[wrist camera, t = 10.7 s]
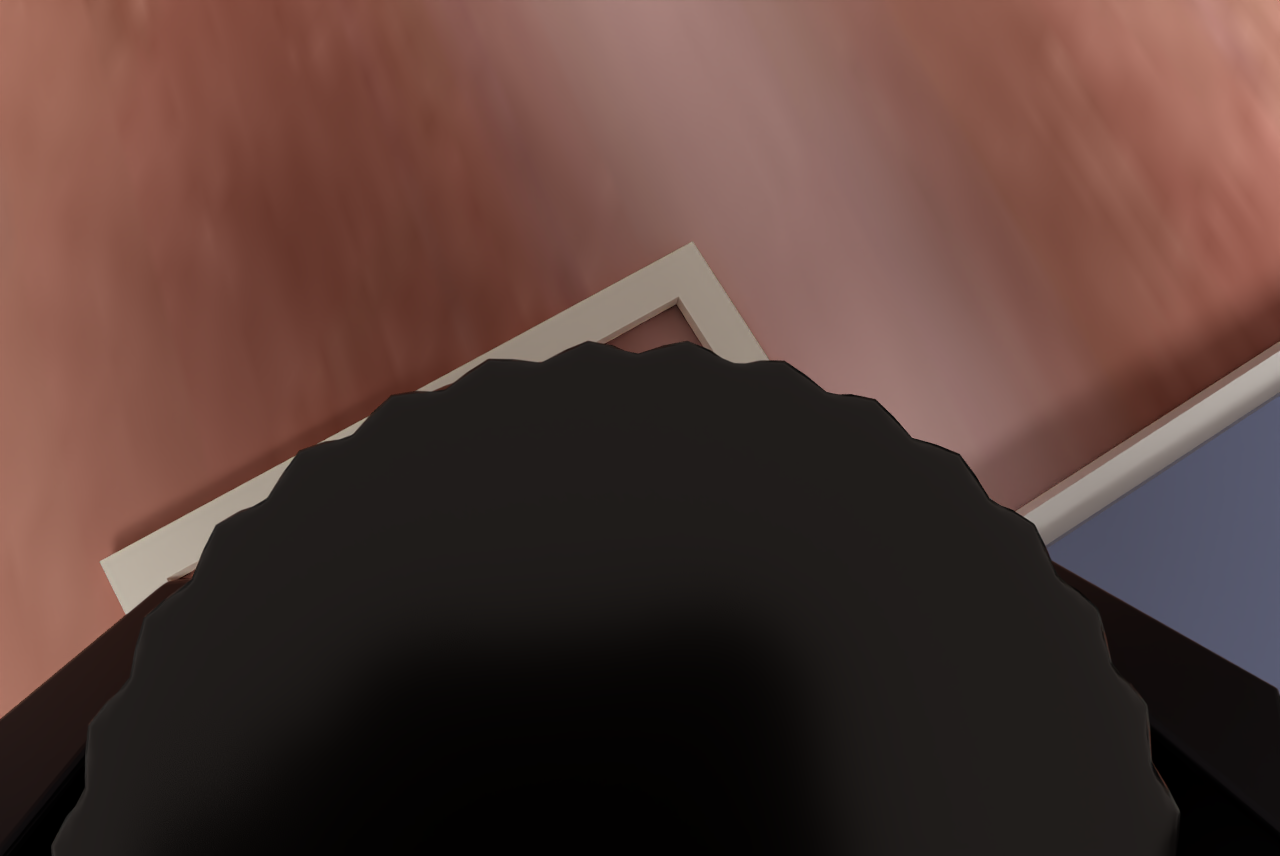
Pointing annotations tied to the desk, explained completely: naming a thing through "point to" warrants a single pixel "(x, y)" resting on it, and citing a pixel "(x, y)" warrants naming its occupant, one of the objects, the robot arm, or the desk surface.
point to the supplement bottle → (624, 642)
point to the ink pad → (1187, 518)
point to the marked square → (589, 320)
